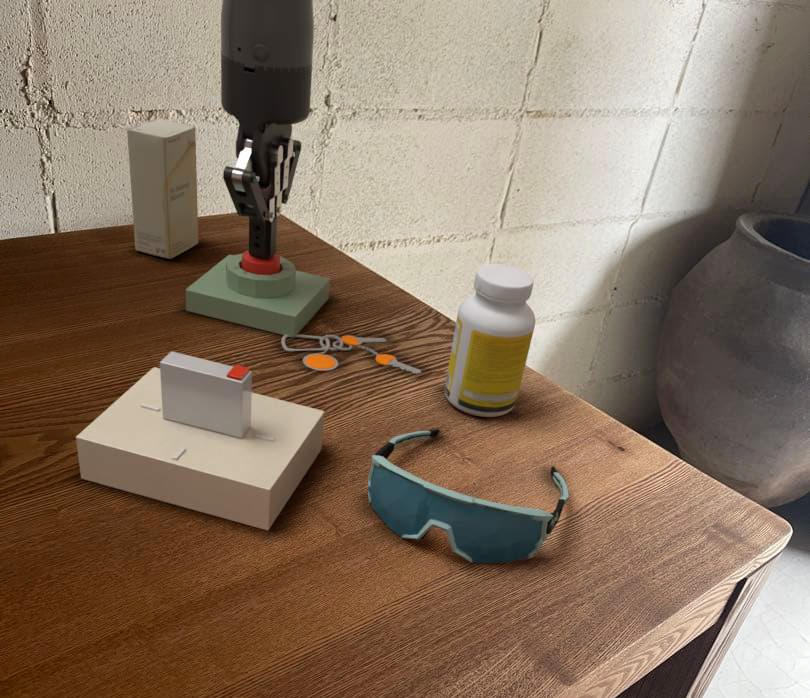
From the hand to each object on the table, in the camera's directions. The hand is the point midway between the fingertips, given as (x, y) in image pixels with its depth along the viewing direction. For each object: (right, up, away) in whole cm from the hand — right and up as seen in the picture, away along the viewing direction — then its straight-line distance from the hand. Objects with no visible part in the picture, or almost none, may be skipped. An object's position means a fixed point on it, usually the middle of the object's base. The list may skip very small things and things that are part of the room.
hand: (262, 255), depth 82 cm
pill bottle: (+20, -15, -6) cm, 26 cm away
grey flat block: (0, -19, -21) cm, 28 cm away
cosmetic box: (-12, +4, +11) cm, 17 cm away
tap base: (-1, -22, -18) cm, 28 cm away
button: (0, -1, +1) cm, 2 cm away
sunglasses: (+18, -24, -18) cm, 35 cm away
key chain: (+8, -10, -2) cm, 13 cm away
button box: (-1, -4, +3) cm, 5 cm away
